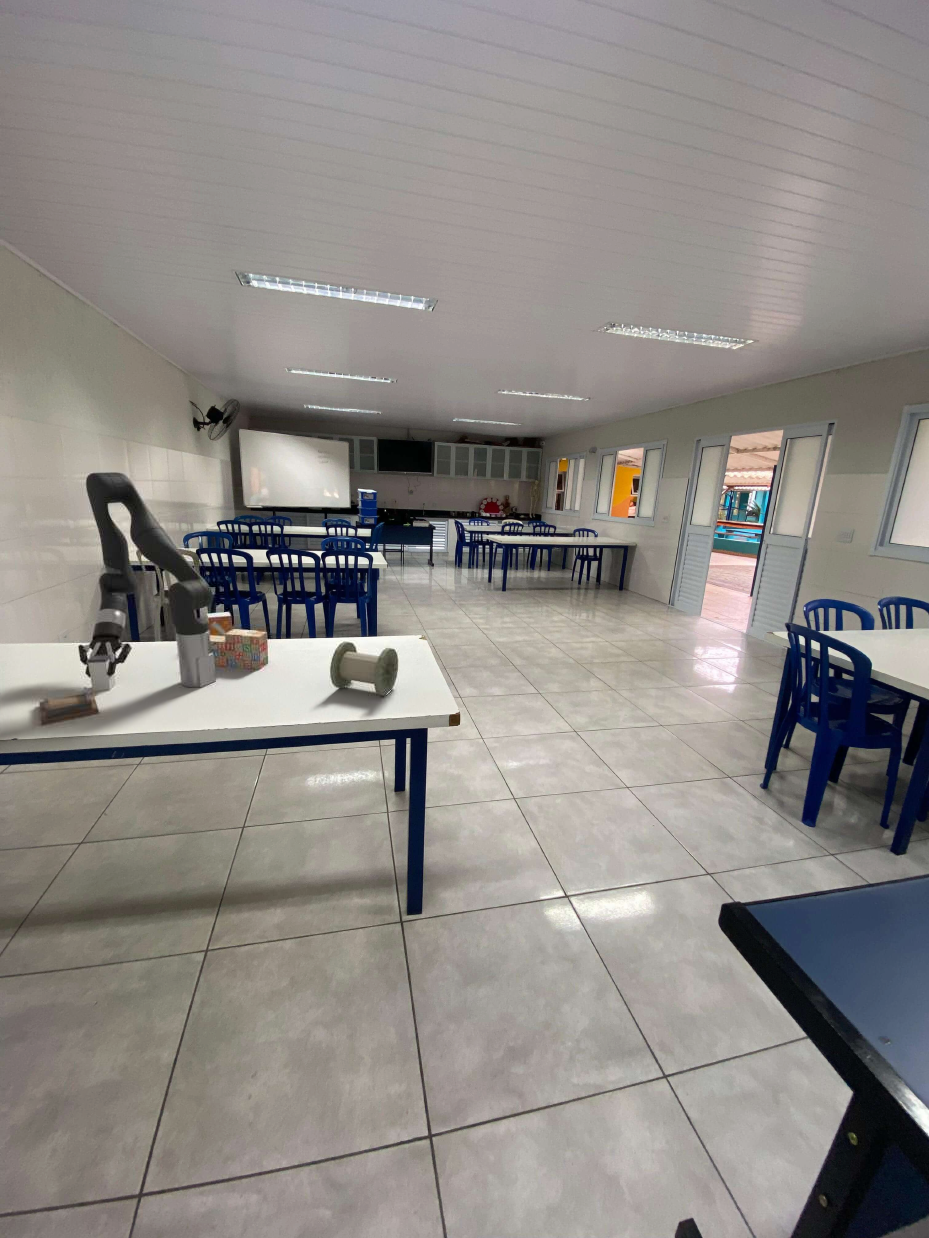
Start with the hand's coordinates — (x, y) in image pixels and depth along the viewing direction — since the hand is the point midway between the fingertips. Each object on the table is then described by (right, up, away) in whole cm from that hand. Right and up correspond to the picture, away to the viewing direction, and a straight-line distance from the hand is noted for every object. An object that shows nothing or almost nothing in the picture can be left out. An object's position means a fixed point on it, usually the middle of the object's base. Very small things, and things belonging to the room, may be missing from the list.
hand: (99, 675), depth 145 cm
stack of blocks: (+28, +1, +27) cm, 39 cm away
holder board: (0, -8, -12) cm, 14 cm away
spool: (+78, -6, +12) cm, 79 cm away
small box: (+14, +6, +44) cm, 47 cm away
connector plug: (-1, -4, +3) cm, 5 cm away
